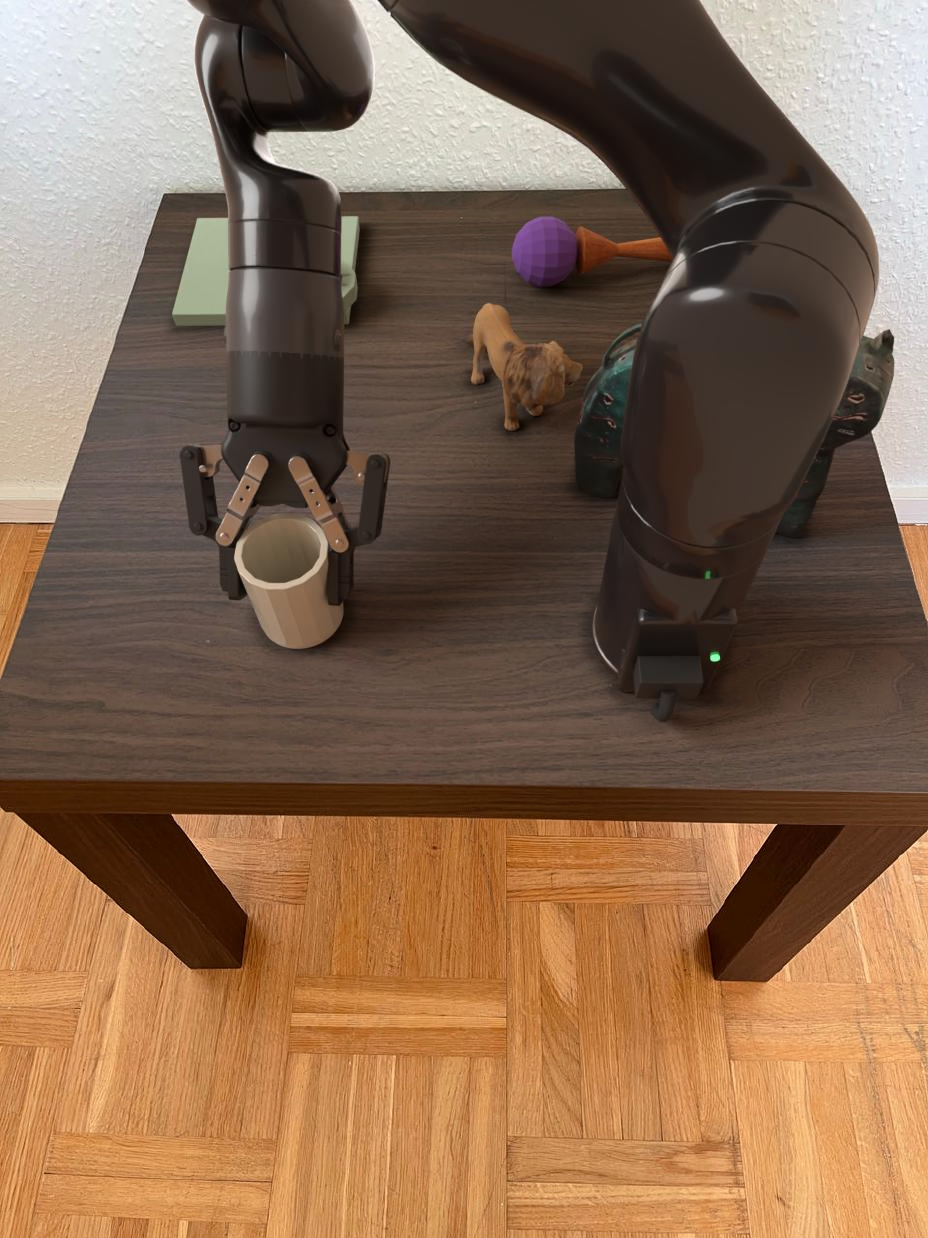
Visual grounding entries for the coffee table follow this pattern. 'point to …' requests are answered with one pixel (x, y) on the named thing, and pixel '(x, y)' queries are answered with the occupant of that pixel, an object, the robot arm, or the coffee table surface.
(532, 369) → the lion figurine
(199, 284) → the scale
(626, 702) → the coffee table surface
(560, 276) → the kendama
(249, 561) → the cup
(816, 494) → the ceramic cat
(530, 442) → the coffee table surface
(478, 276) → the coffee table surface
